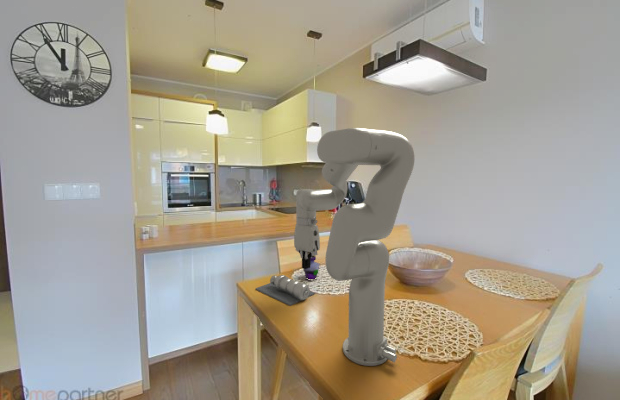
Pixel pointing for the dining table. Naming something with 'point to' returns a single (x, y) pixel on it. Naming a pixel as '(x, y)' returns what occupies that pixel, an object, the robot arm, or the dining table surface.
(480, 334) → the dining table surface
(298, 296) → the plastic bottle
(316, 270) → the potion bottle
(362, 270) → the robot arm
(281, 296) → the mat
